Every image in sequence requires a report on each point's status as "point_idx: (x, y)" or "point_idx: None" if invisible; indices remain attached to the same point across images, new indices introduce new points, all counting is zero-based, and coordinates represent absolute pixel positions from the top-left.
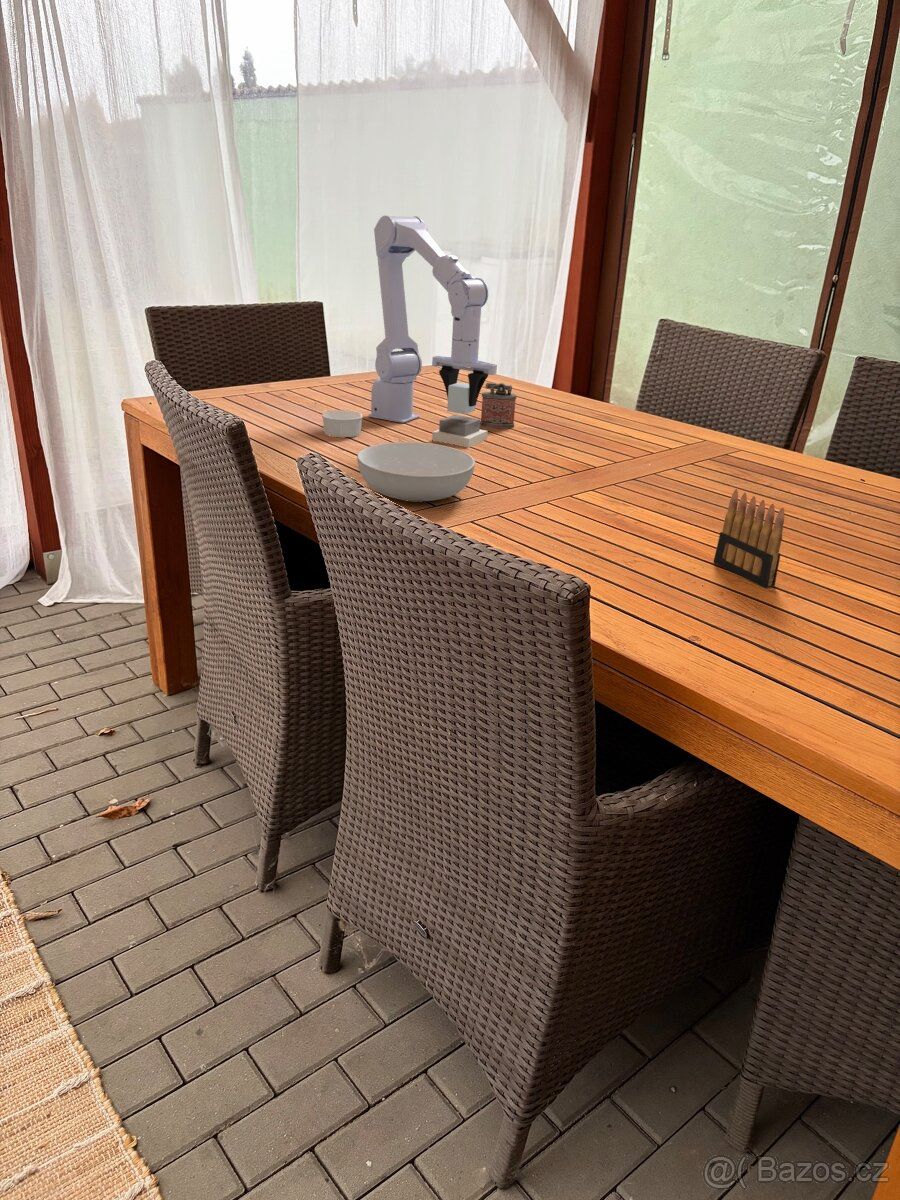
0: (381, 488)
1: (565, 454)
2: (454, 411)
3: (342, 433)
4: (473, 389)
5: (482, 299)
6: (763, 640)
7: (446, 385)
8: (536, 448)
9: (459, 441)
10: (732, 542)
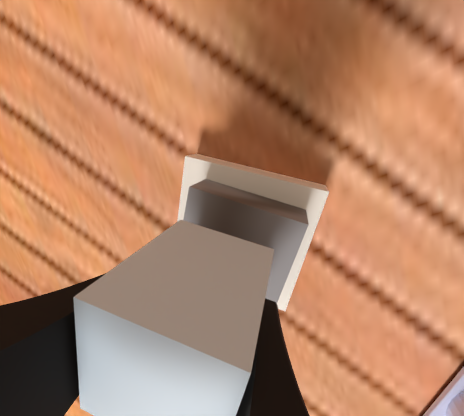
0: None
1: (12, 194)
2: (234, 239)
3: None
4: (42, 298)
5: None
6: None
7: (283, 398)
8: (68, 217)
9: (223, 162)
10: None
